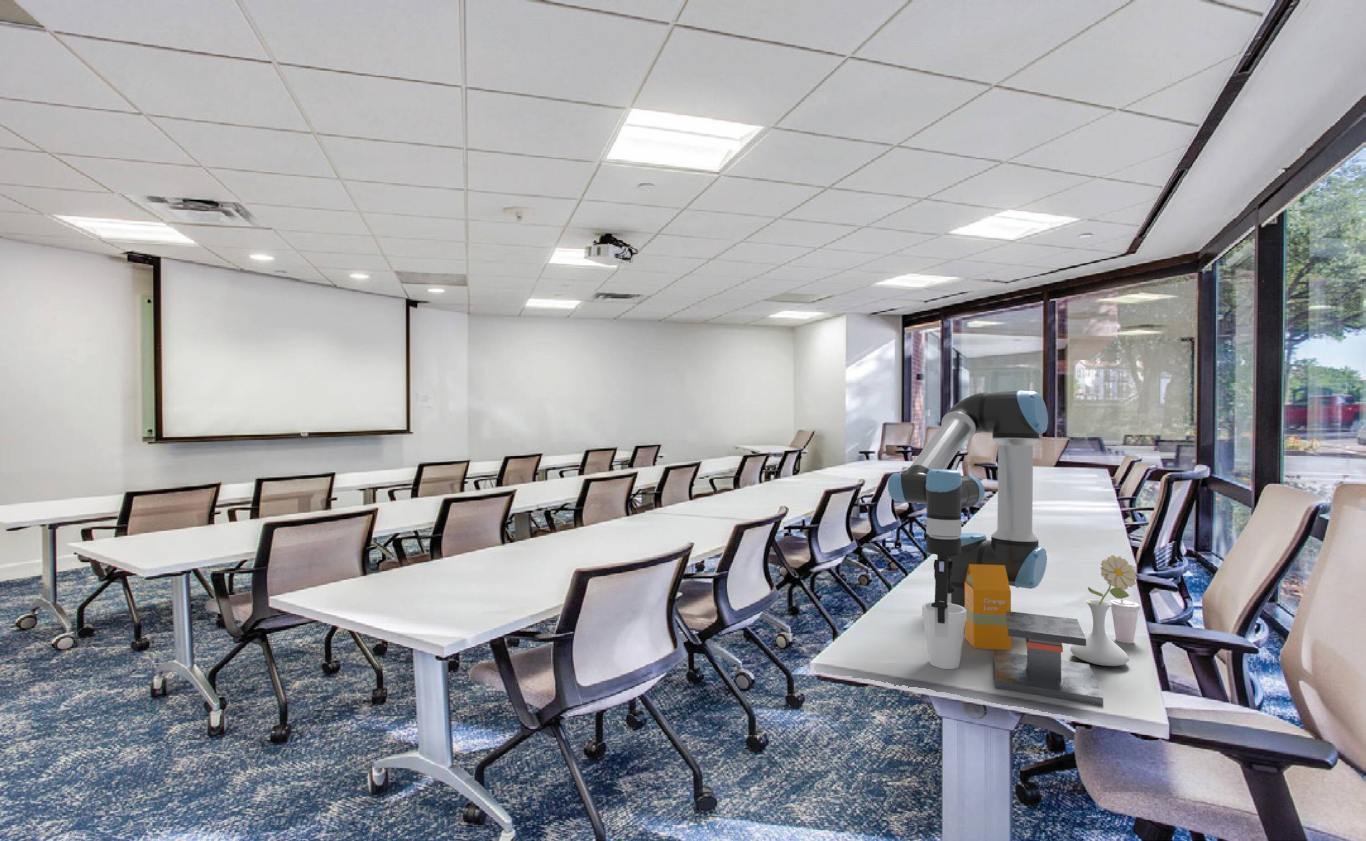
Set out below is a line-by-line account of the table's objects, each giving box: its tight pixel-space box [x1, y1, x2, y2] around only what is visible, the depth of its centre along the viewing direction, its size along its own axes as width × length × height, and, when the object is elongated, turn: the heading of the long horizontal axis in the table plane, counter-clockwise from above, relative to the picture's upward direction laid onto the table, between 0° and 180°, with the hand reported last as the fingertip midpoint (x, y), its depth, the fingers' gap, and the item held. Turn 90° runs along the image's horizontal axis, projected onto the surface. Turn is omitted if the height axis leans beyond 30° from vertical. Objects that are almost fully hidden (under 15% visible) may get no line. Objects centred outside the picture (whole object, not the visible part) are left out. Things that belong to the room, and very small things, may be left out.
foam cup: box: [921, 601, 966, 670], centre depth 143 cm, size 10×9×13 cm
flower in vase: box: [1070, 555, 1138, 667], centre depth 144 cm, size 13×11×25 cm
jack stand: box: [993, 610, 1104, 706], centre depth 135 cm, size 19×19×12 cm
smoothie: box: [1109, 598, 1141, 644], centre depth 158 cm, size 6×6×14 cm
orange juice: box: [964, 564, 1012, 651], centre depth 156 cm, size 8×9×20 cm
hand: (943, 628), depth 143 cm, fingers open, 13 cm apart
